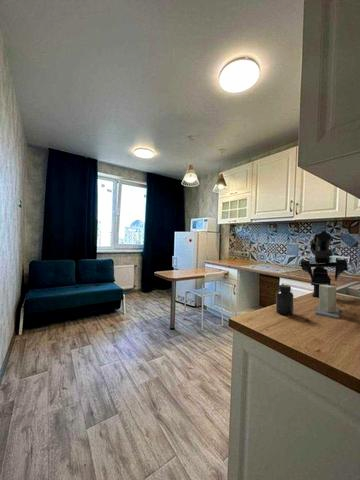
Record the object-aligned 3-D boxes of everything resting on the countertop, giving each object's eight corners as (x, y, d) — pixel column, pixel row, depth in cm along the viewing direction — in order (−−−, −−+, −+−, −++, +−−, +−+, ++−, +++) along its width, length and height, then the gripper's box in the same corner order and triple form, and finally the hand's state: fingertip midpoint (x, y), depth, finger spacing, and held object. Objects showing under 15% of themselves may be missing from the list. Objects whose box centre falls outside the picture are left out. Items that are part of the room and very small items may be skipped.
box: (336, 312, 90) (337, 287, 90) (327, 312, 90) (328, 287, 90) (326, 308, 96) (327, 284, 95) (318, 308, 95) (318, 284, 95)
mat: (318, 305, 101) (318, 304, 101) (339, 309, 96) (339, 307, 96) (315, 314, 90) (315, 312, 90) (338, 318, 85) (338, 316, 85)
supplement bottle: (284, 309, 96) (285, 283, 96) (297, 314, 89) (297, 287, 89) (272, 311, 94) (272, 284, 93) (284, 316, 87) (284, 288, 87)
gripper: (298, 245, 108) (297, 271, 99) (344, 242, 96) (347, 271, 88) (302, 257, 114) (302, 283, 106) (346, 256, 103) (349, 284, 94)
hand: (323, 280), depth 98 cm, fingers open, 9 cm apart
